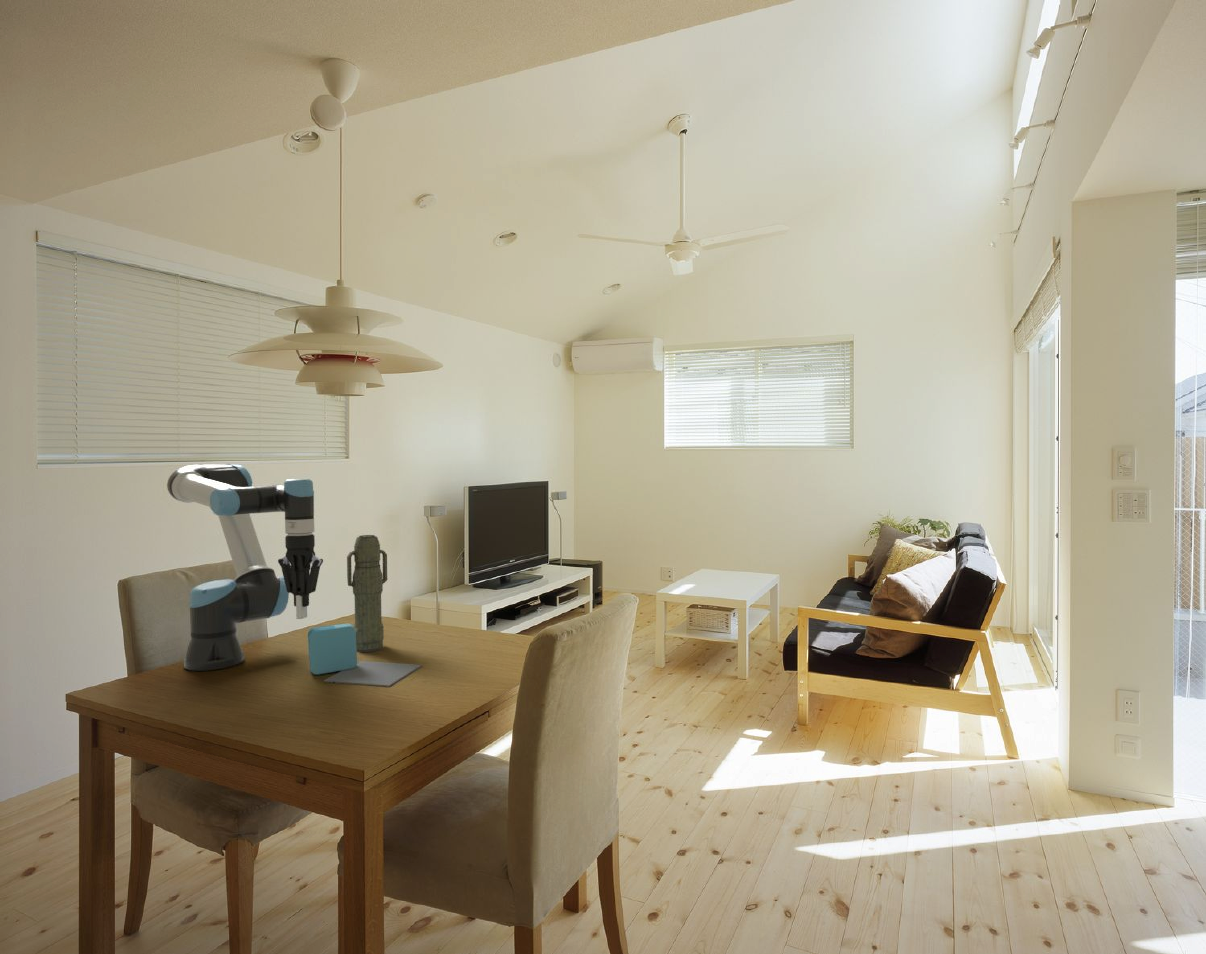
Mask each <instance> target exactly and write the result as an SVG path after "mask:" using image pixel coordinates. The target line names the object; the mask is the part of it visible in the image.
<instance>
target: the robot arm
mask: <svg viewBox="0 0 1206 954" xmlns="http://www.w3.org/2000/svg"><path fill="white" fill-rule="evenodd" d="M166 488H167V491H168V493H169V495H170V496H171V497H172V498H173V499H175V500H177V501H180V502H181V503H182V502H183V503H191V504H192V503H197V504H200V505H202V506H205V507H209V509H210V510H211V511H212V513H213V514H214V515H216V516H218V519H219V523H220V526H221V529H222V532H223V536H224V538H225V541H226V545H227V547H228V551H229V554H230V557H231V561H232V563H233V566H234V567H233V568H234V570H235V572H236V577H235V579H232V578H231V579H230V578H229V579H228V578H225V579H219V580H218V579H217V580H212V581H208V582H204V583H201V584H198V585H196V586H195V587H193V588H191V590H190V593H189V594H190V595H189V603H188V606H189V616H190V617H189V618H190V619H189V620H190V622H189V625H190V640H189V644H188V647H187V650H186V654H185V656H184V659H183V665H184V666H183V667H184V669H185V670H188V671H198V672H201V671H202V672H204V671H206V672H207V671H215V670H220V669H227V668H230V667H233V666H236V665H239V664H241V663H243V661H244V660H245V655H244V654H245V653H244V650H243V649H242V646H241V642H240V640H239V638H238V633H237V624H240V623H246V622H251V621H256V620H263V619H270V618H273V617H276V616H280V615H281V614H282V613H284V611H285V610H286V609H287V607H288V603H289V599H290V598H289V597H290V596H289V595H290V594H292V596H293V605H294V607H295V609H296V610H295V611H296V612H295V613H296V615H295V617H296V620H303V619H306V618H308V607H309V605H310V594H312V593H315V592H316V590H317V586H318V580H319V579H318V578H319V574H320V569H321V567H322V566H321V565H322V564H323V563H324V559H323V558H319V557H317V556H316V552H315V547H316V545H315V544H316V543H315V541H316V540H315V538H316V537H315V534H314V533H315V506H314V505H315V491H314V483H313V480H311V479H310V478H291V479H290V478H289V479H286V480H285V481H284V482H283V485H282V484H272V485H261V486H260V485H259V486H253V479H252V475H251V473H250V472H249V471H248V469H247V468H246V467H245V466H243V465H240V464H232V463H224V464H190V465H186V466H182V467H180V468H178V469H176V470H175V471H173V472H172V473H171V475H170V476H169V477H168V480H167V484H166ZM278 512H279V513H280V512H281V513H284V526H285V527H284V530H285V531H284V533H285V534H286V536H285V537H284V538H285V539H284V541H285V542H284V543H285V548H286V552H285V556H284V557H282V558H278V560H277V563H278V564H279V566H280V568H281V571H282V576H283V577H282V576H277V575H276V572H275V570H274V569H273V568H271V567H269V566H268V565H267V562H266V560H265V555H264V553H263V550H262V547H261V544H260V541H259V538H258V536H257V532H256V529H255V526H254V524H253V521H252V517H251V514H263V513H264V514H266V513H278Z"/></svg>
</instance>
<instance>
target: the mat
mask: <svg viewBox="0 0 1206 954" xmlns="http://www.w3.org/2000/svg"><path fill="white" fill-rule="evenodd" d="M422 666H423V665H422V664H412V663H400V662H399V663H398V662H397V663H395V662H384V661H383V662H382V661H369V660H360V661H359V662H358V661H357V665H356V666H355V667H354V668H353V669H348V670H342V671H338V673H335V674H334V675H331V676H330V677H328V678H326V679H324V680H323V682H324V681H325V682H324V683H333V682H335V684H346V685H347V684H348V685H349V684H350V685H360V686H363V685H364V686H373V687H374V686H375V687H386V688H389V687H391V686H393V685H394V684H396V683H397V682H400V681H401V680H403V679H404V678H405V677H407V676H409V675H410V674H412V673H413V672H415V671H417V670H418V669H420V668H422Z"/></svg>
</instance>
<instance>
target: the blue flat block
mask: <svg viewBox="0 0 1206 954" xmlns="http://www.w3.org/2000/svg"><path fill="white" fill-rule="evenodd" d="M307 641H308V643H307V644H308V657H309V658H308V659H309V668H310V671H311V672H312V674H313V675H317V676H318V675H323V674H329V673H335V672H341V671H343V670H348V669H353V668H354V667H355V666H356V665H357V663H358V653H357V652H358V651H357V649H356V631H355V628H354V625H353V624H351V623H342V624H341V623H340V624H334V625H333V624H332V625H326V626H320V627H314V628H310V630H309V631H308V633H307Z"/></svg>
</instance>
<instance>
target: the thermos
mask: <svg viewBox="0 0 1206 954" xmlns="http://www.w3.org/2000/svg"><path fill="white" fill-rule="evenodd" d="M353 548H354V550H352V551H350V552H349V553H348V555H347V556H346V573H347V574H346V575H347V577H346V578H347V586H348V587H352V593H353V594H352V595H353V596H354V624H353V627H354V628H355V631H356V649H357V652H358V653H368V652H369V653H370V652H375V651H380V650H382V649H383V648H384V637H385V636H384V631H385V630H384V624H383V622H382V620H383V619H382V593H383V590H384V589H383V588H384V587H383V585H384V584H385V583H386V582H387V581H388V554H387V553H386V551H384V549H381V544H380V541H379V538H378V536H376V535H374V534H363V535H358V536H357V537H356V539H355V542H354V546H353ZM381 554H382V569H381V564H380V563H381V562H380V561H381ZM353 556H354V570H353V572H352V557H353Z"/></svg>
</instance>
